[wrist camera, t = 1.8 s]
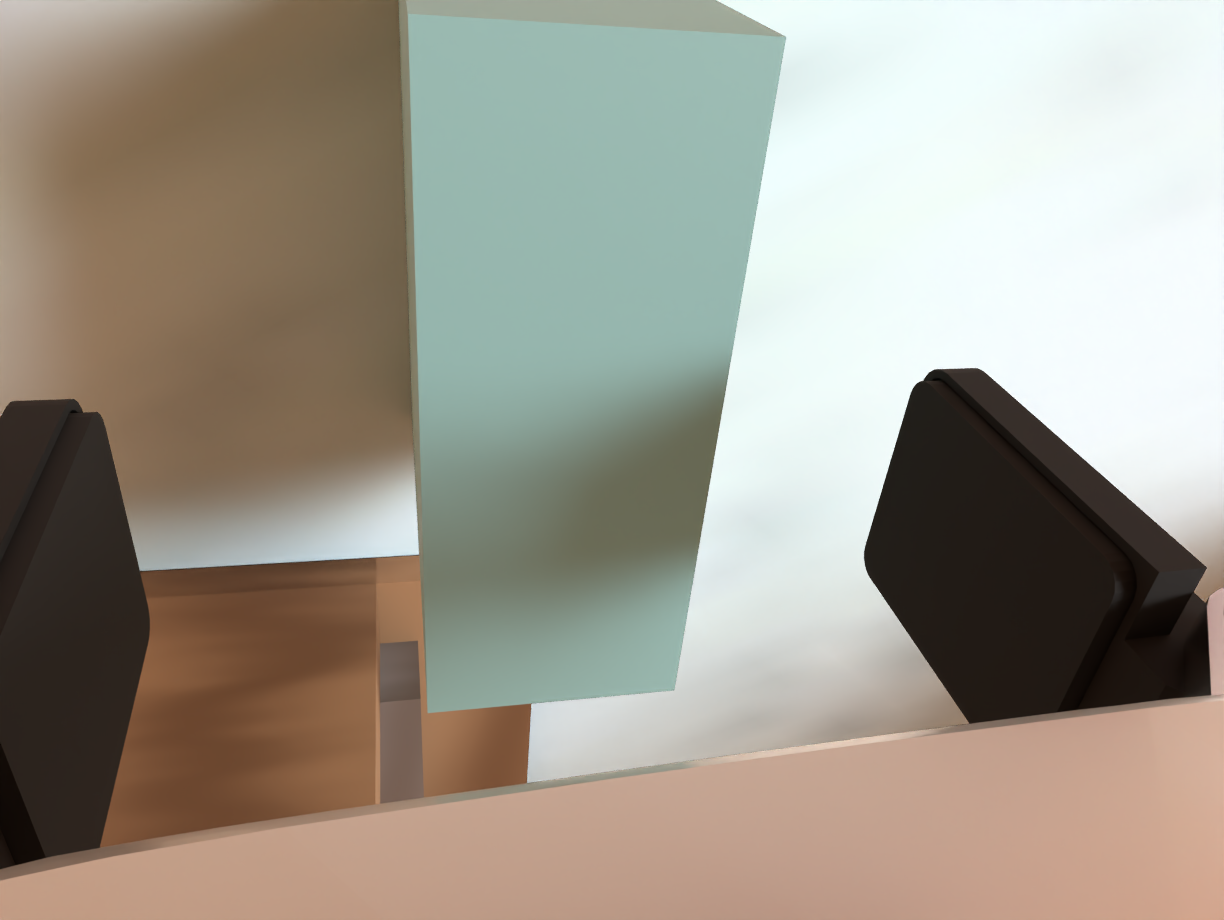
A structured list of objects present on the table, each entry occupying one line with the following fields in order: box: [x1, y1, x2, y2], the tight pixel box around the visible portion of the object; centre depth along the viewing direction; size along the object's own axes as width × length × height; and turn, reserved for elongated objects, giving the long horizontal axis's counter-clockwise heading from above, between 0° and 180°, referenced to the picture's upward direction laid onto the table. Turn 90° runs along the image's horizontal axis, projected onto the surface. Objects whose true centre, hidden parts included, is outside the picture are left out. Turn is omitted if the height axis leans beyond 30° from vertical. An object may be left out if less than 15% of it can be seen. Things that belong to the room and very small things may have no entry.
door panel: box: [398, 0, 786, 713], centre depth 16 cm, size 4×10×9 cm, turn 175°
